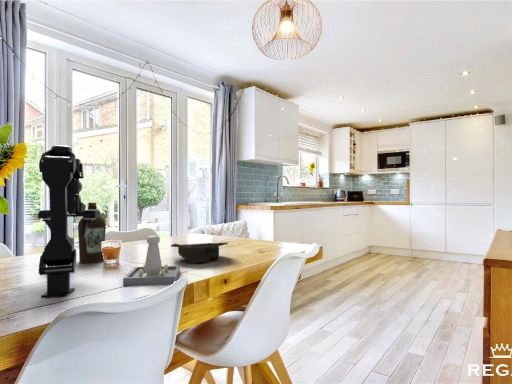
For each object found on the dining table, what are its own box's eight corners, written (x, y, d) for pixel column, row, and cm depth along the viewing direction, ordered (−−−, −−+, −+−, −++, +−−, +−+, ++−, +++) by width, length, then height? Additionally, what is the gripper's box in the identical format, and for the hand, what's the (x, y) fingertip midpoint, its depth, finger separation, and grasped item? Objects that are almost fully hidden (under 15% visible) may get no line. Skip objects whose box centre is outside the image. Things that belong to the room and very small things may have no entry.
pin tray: (174, 283, 105) (174, 272, 105) (123, 285, 103) (123, 273, 103) (179, 271, 121) (179, 261, 121) (135, 272, 119) (135, 262, 119)
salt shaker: (141, 273, 112) (141, 235, 112) (156, 271, 116) (156, 234, 116) (149, 276, 108) (149, 237, 108) (165, 273, 112) (165, 236, 112)
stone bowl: (198, 268, 126) (197, 244, 126) (159, 264, 141) (157, 243, 141) (239, 257, 146) (238, 236, 146) (201, 255, 161) (200, 236, 161)
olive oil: (74, 261, 139) (74, 202, 139) (100, 257, 146) (100, 202, 147) (82, 265, 131) (82, 203, 132) (109, 261, 139) (109, 202, 139)
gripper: (105, 194, 125) (105, 235, 124) (53, 194, 122) (52, 236, 122) (94, 194, 113) (94, 239, 113) (37, 194, 111) (36, 240, 111)
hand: (69, 238), depth 115 cm, fingers open, 9 cm apart
